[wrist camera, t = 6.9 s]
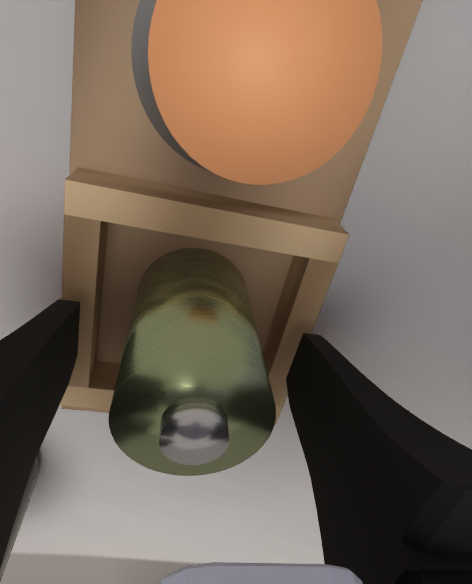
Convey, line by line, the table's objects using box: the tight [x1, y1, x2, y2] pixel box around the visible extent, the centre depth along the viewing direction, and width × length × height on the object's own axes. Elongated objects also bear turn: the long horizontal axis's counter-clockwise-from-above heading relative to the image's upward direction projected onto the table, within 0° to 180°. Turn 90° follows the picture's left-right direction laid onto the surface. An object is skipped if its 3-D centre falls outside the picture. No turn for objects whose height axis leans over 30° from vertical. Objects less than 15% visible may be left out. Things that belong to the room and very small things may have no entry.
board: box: [60, 0, 423, 424], centre depth 13 cm, size 9×18×3 cm, turn 167°
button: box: [148, 0, 382, 185], centre depth 9 cm, size 4×4×2 cm
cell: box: [109, 248, 276, 476], centre depth 12 cm, size 4×4×7 cm
